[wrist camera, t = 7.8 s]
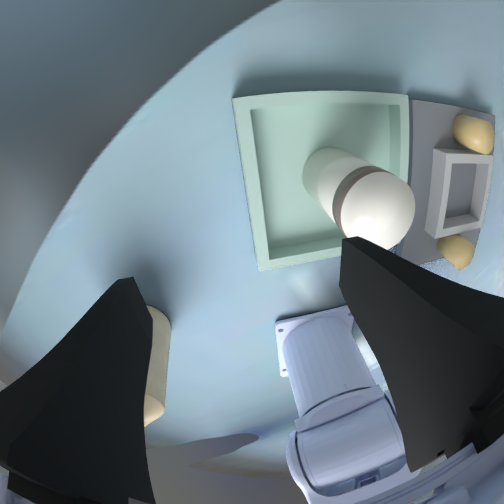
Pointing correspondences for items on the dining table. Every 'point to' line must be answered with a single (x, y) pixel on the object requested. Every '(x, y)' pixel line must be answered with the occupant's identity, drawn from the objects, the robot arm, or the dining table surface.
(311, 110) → the parts tray
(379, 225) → the cylinder
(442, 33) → the dining table surface
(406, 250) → the fuse panel
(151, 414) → the candle
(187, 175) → the dining table surface
